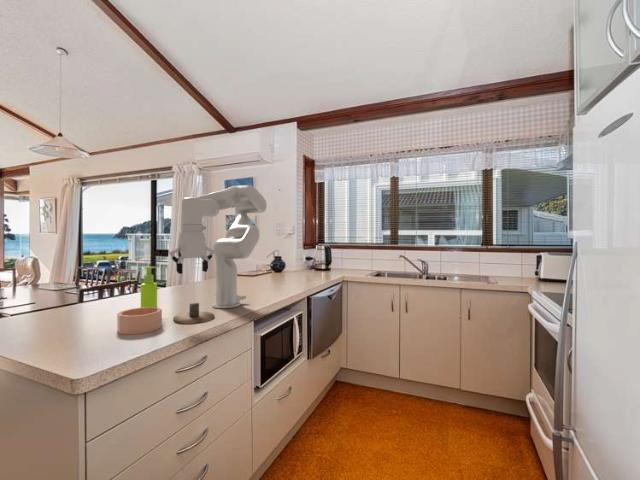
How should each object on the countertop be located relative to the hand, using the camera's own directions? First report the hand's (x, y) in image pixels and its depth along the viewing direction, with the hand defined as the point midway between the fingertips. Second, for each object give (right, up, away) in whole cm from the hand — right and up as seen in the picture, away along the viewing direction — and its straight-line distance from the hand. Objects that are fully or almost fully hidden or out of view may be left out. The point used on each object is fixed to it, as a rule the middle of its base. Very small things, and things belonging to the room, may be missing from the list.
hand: (192, 272), depth 121 cm
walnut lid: (+1, -19, 0) cm, 19 cm away
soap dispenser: (-20, -18, +5) cm, 28 cm away
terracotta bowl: (-13, -18, -13) cm, 26 cm away
